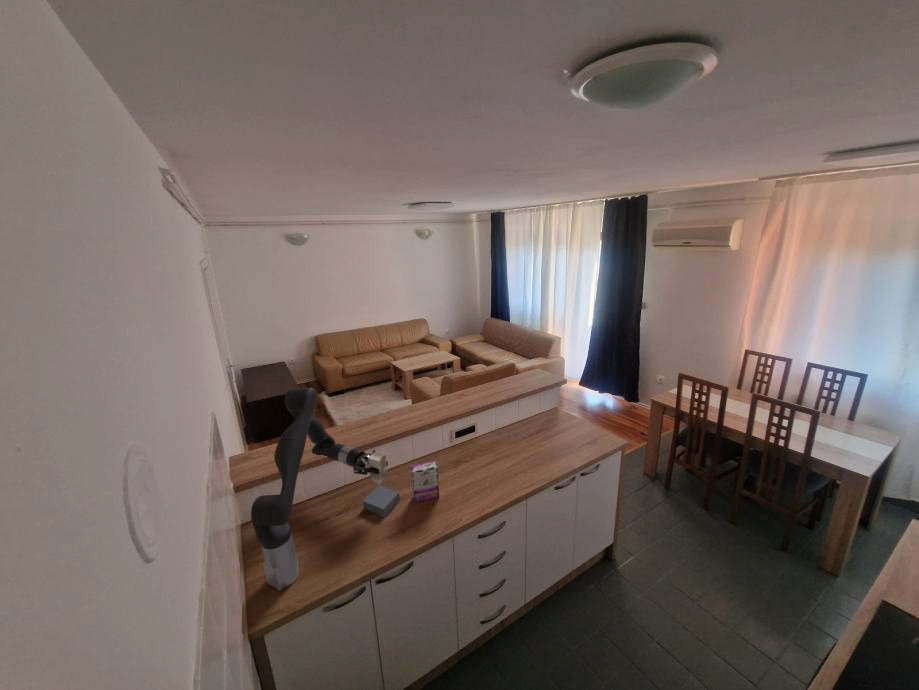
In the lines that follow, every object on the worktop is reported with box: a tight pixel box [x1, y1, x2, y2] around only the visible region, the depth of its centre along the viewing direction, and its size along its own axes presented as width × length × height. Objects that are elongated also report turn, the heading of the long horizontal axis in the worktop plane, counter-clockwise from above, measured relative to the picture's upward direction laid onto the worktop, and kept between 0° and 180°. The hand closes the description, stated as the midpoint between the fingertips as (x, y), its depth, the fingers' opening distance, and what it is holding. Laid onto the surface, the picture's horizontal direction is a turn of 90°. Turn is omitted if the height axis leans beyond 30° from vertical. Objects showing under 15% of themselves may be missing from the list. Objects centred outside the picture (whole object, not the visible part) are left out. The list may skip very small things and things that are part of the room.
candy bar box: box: [410, 460, 440, 504], centre depth 159 cm, size 11×5×16 cm, turn 105°
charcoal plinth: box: [362, 484, 401, 518], centre depth 157 cm, size 11×11×4 cm
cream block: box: [368, 450, 389, 486], centre depth 152 cm, size 5×5×12 cm
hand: (383, 467), depth 150 cm, fingers closed on cream block, 5 cm apart
